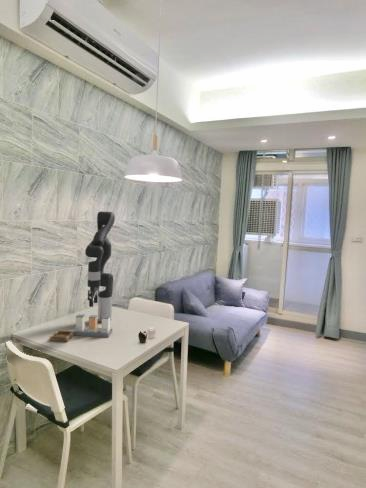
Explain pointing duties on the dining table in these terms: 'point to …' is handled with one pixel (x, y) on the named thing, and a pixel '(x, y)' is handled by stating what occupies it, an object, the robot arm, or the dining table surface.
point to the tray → (62, 336)
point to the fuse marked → (93, 322)
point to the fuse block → (85, 331)
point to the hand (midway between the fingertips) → (93, 304)
